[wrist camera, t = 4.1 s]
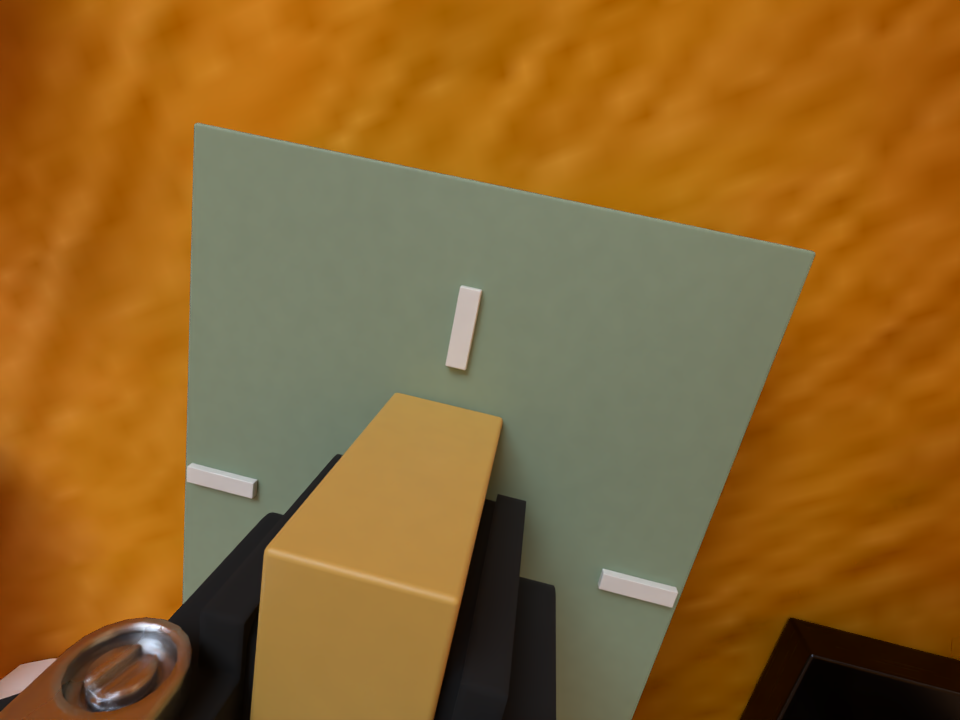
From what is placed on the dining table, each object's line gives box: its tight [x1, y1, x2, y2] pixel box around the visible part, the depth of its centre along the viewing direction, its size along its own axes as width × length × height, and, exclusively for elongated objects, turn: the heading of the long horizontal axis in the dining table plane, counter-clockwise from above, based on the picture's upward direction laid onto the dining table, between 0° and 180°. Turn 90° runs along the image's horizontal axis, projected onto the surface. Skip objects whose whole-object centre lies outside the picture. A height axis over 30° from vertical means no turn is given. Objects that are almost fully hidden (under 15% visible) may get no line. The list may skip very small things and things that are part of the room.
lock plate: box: [183, 123, 815, 720], centre depth 11 cm, size 13×10×3 cm
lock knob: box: [250, 393, 503, 720], centre depth 8 cm, size 6×2×5 cm, turn 169°
